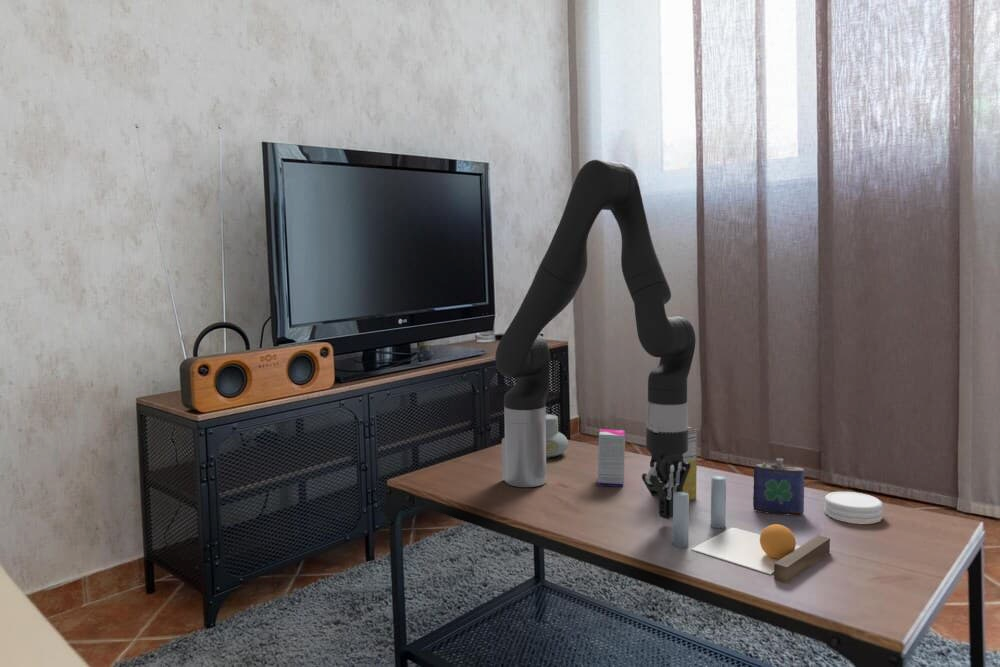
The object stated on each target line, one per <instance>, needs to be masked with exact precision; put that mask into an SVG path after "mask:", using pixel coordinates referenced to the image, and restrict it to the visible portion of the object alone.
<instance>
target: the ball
mask: <svg viewBox="0 0 1000 667" xmlns="http://www.w3.org/2000/svg"><path fill="white" fill-rule="evenodd" d="M759 535H760V545H761V547H762V549H763V551H764V552H765V553H766V554H767V555H768V556H770V557H772V558H775V559H782V558H783V557H785V556H786V555H788V554H789V553H791V552H793V551H794V550H795V546H796V545H797V544H796V543H797V542H796V537H795V535H794V534H793V532H792V530H790V529H789V528H788V527H787V526H785V525H782V524H780V523H779V524H776V523H775V524H770V525H768V526H767V527H765V528H763V529H762V531H761V533H760V534H759Z"/></svg>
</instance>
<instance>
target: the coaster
mask: <svg viewBox="0 0 1000 667" xmlns="http://www.w3.org/2000/svg"><path fill="white" fill-rule="evenodd" d="M823 506H824V509H823V511H824V514H825V513H826V514H828V515H829V516H831V517H833V518H836V519H839V520H844V521H850V522H870V521H877V520H880V519H881V518H882V516H883V513H884V510H883V507H884V504H883V502H882V500H880V499H879V498H878V497H875V496H873V495H870V494H867V493H866V494H865V493H861V492H854V491H833V492H830V493H827V494H826V495H825V497H824V504H823ZM826 514H825V515H826ZM829 516H828V517H829ZM882 519H883V518H882Z"/></svg>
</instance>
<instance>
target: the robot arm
mask: <svg viewBox="0 0 1000 667" xmlns="http://www.w3.org/2000/svg"><path fill="white" fill-rule="evenodd" d="M638 181H639V180H638V177H637V175H636V172H635V171H634V170H633V168H632V167H631V166H630V165H628V164H626V163H624V162H621V161H614V160H613V161H612V160H608V159H607V160H606V159H597V158H596V159H592V160H590V161H587V162H586V163H584V165H583V166H581V169H579V171H578V173H577V175H576V177H575V179H574V181H573V185H572V187H571V189H570V193H569V196H568V199H567V201H566V204H565V207H564V210H563V213H562V216H561V218H560V221H559V222H558V225H557V228H556V230H555V232H554V234H553V237H552V238H551V242H550V243H549V245H548V248H547V250H546V252H545V255H543V258H542V259H541V262H540V264H539V266H538V268H537V270H536V272H535V275H534V277H533V280H532V282H531V284H530V286H529V289H528V290H527V293H526V295H525V297H524V298H523V300H522V302H521V305H520V307H519V309H518V311H516V314H515V316H514V317H513V319H512V320H511V323H510V324H509V326H508V327H507V329H506V330H505V332H504V334H503V335H502V337H501V338H500V340H499V341H498V344H497V347H496V351H495V357H494V358H495V360H494V361H495V366H496V368H497V370H498V372H499V373H500V374H501V375H502V376H504V377H507V378H517V382H516V383H515V384H514V386H513V387H512V388H511V389H509V390H507V392H506V393H505V394H504V396H503V408H504V409H503V410H504V411H503V412H504V415H503V416H504V437H502V439H501V475H502V476H501V477H502V478H501V480H502V481H504V482H505V483H506V484H507V485H509V486H511V487H512V486H513V487H517V488H533V487H534V488H535V487H539V486H542V485H544V484H546V483H547V458H546V414H547V411H546V407H547V406H546V405H547V404H546V400H547V396H548V394H549V390H550V377H551V375H550V373H551V353H550V348H549V345H548V342H547V340H546V339H545V338H544V337H543V336H542V335H540V334H541V332H542V331H543V329H544V328H546V326H548V325H549V323H551V322H552V321H553V319H555V318H556V317H557V316H558V315H559V314H560V313H561V312H562V311H564V310H565V309H566V307H567V306H568V305H569V304H570V303H571V302H572V300H573V299H574V297H575V296H576V294H577V293H578V290H579V288H580V286H581V284H582V282H583V280H584V278H585V276H586V272H587V270H588V268H587V267H588V248H587V247H588V237H589V234H590V232H591V229H592V227H593V225H594V223H595V220H596V219H597V218H598V216H599V214H600V213H601V212H602V211H603V210H604V211H610V212H611V214H612V216H614V219H615V220H616V224H617V225H618V228H619V231H620V236H621V255H620V257H621V258H620V260H621V261H620V262H621V265H620V266H621V271H622V276H623V279H624V282H625V283H626V286H627V289H628V292H629V295H630V297H631V299H632V302H633V305H634V316H635V317H634V318H635V324H636V326H635V327H636V332H637V337H638V341H639V343H640V345H641V347H642V348H643V350H644V351H645V352H646V353H647V354H648V355H650V357H651V356H652V357H654V358H659V364H658V366H657V367H656V368H654V369H653V370H651V371H650V372H649V373H648V377H647V407H646V417H645V418H646V420H645V422H646V424H645V425H646V426H645V430H646V431H645V433H646V434H645V435H646V436H645V437H646V438H645V439H646V440H645V445H646V446H645V447H646V450H647V451H648V452H649V453H650V457H651V459H650V462H649V467H650V468H649V470H648V472H647V473H646V472H645V473H644V472H643V473H642V475H641V480H642V481H643V483H644V484H645V486H646V488H647V490H648V491H649V494H650V495H651V497H655V498H658V513H659V517H660V518H662V519H666V520H669V519H673V493H675V492H681V491H682V488H683V485H684V483H685V480H686V477H687V475H688V472H689V470H690V467H691V465H690V463H686V462H684V461H683V454H684V453H686V452H687V451H688V425H689V410H688V409H689V408H688V378H689V373H690V370H691V366H692V362H693V358H694V354H695V350H696V341H697V340H696V333H695V329H694V327H693V325H692V323H691V322H690V321H689V320H688V319H687V318H685V317H683V316H676V315H675V316H668V315H667V312H666V309H665V305H667V303H669V302H670V300H671V298H672V292H671V288H670V286H669V283H668V281H667V278H666V276H665V274H664V271H663V268H662V266H661V264H660V261H659V257H658V254H657V253H656V249H655V247H654V244H653V240H652V237H651V232H650V229H649V224H648V220H647V214H646V211H645V207H644V206H645V205H644V202H643V196H642V192H641V188H640V185H639V184H640V183H639V182H638ZM667 316H668V317H667Z"/></svg>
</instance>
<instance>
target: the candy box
mask: <svg viewBox="0 0 1000 667" xmlns="http://www.w3.org/2000/svg"><path fill="white" fill-rule="evenodd" d="M697 429H698V428H697V427H696V426H692V425H689V424H688V451H687V452H686V453H684V454H683V461H684V462H686V463H690V465H691V467H690V470H689V472H688V475H687V477H686V480H685V483H684V485H683V488H682V491H681V492H685V493H688V494H689V501H693V500H696V499H697V472H698V471H697V469H698V468H697V457H698V456H697V454H698V453H697V452H698V451H697V450H698V449H697V448H698V447H697V445H698V444H697V442H698V441H697V439H698V435H697V434H698V432H697Z"/></svg>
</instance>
